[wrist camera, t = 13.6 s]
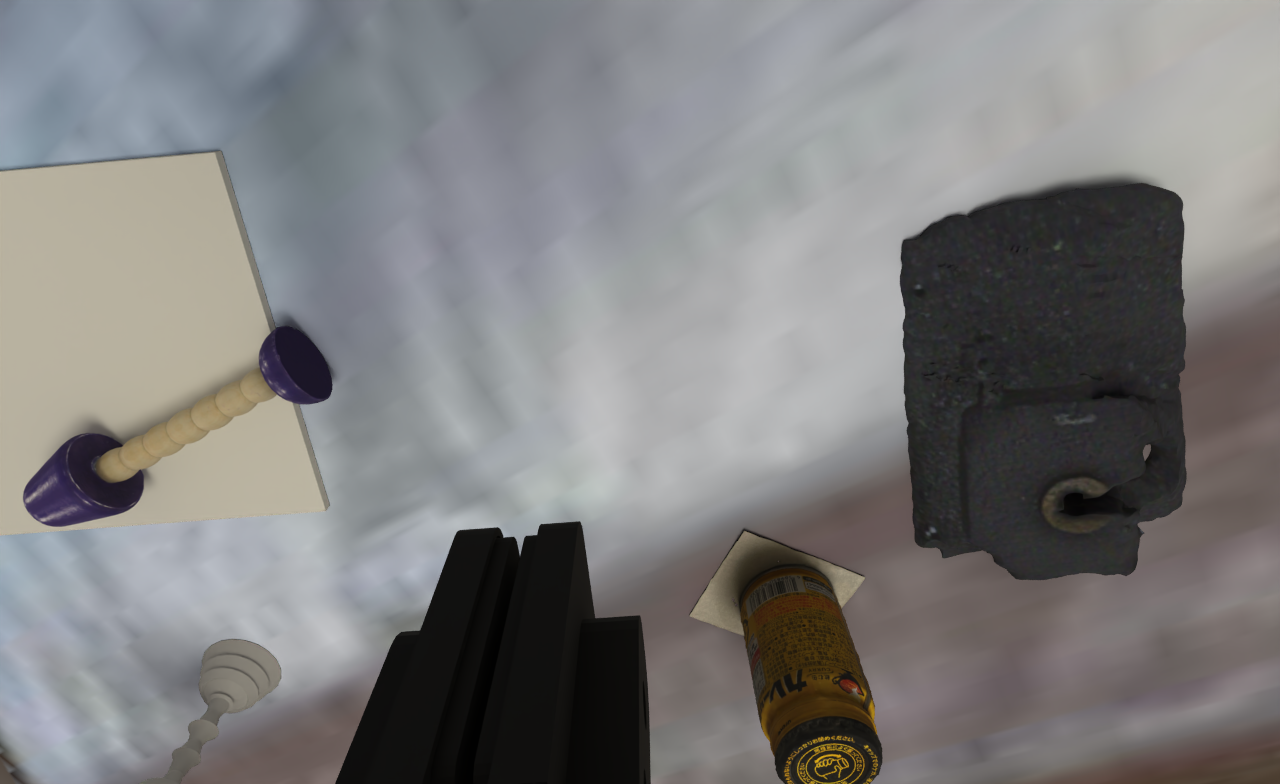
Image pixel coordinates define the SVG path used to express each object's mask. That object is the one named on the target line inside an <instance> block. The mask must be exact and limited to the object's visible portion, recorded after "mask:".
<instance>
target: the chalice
mask: <svg viewBox="0 0 1280 784" xmlns="http://www.w3.org/2000/svg"><path fill="white" fill-rule="evenodd" d="M200 676H201V678H200V681H199V691H200V694H201V696H202V698H203V700H204V702H205V703H206V704H208V709H207V712H206V713H205V714H204V715H203V716H202V717H201V718H200V719H199V720H195V721H192V722H191V723H190V724H189V726H188V731H189V733H190V736H189V739H188V741H187V742H186V743H185V744H184V745H183V746H182V747H180V748H178V749H176V750H174V751H173V753H172V759H173V761H172V764H171V766H170V769H169V771H168V773H167V774H166V775H165V776H164V777H163V778H151V779H147V780H145V781H142V782H141V783H139V784H180V783H181V781H182V778H183V777H184V776H185V775H186V773H187V772H188V771H189V770H190V769H191V768H192V767H194V766H196V765H198V764H199V763H200V761H201V756H200V752H201V749H202V746H203V745H204V744H205V743H206V742H207V741H210V740H213V739H215V738H216V737H217V736H218V734H219V730H218V728H217V724H218V721H219V718H220V717H221V716H222V714H223V713H236V712H240V711H243V710H245V709H248V708H250V707H252V706H253V705H254V704H255V703H256V702H257V701H259V700H261V699H262V698H263V697H264V696H265V695H266V694H268V693H270V692H271V691H273V690H274V689H275V688H276V687H277V686H278V684H279V681H280V679H281V668H280V666H279V664H278V662H277V660H276V659H275V658H274V657H273V656H272V655H271V654H270V652H269V651H267V650H265V649H264V648H262V647H261V646H259V645H257V644H254V643H251V642H248V641H244V640H235V639H231V640H224V641H220V642H218V643H215V644H213V645H211V646H210V647H209V648H208V649H207V650H206V651H205V653H204V656H203V659H202V669H201V672H200Z"/></svg>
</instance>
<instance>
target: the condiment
mask: <svg viewBox="0 0 1280 784" xmlns="http://www.w3.org/2000/svg"><path fill="white" fill-rule="evenodd" d="M778 561H779V562H778ZM864 579H865V577H862V576H860V575H857V574H855V573H853V572H850V571H848V570H846V569H843V568H841V567H838V566H834V565H833V564H831V563H828V562H826V561H823V560H821V559H817V558H815V557H813V556H810V555H807V554H804V553H802V552H797V551H794V550H792V549H790V548H788V547H786V546H783V545H780V544H778V543H776V542H774V541H771V540H768V539H764V538H761V537H758V536H756V535H754V534H751V533H748V532H746V531H744V532H743V534H742V535H741V537H740V538H739V540H738V541H737V542H736V543H735V545H734V547H733V548H732V549H731V551H730V552H729V554H728V556H727V558H726V559H725V560H724V561H723V563H722V565H721V566H720V568H719V569H718V571H717V573H716V574H715V576H714V577H713V578H712V580H711V581H710V583H709V585H708V587H707V589H706V590H705V592H704V594H703V595H702V596H701V598H700V599H699V601H698V603H697V605H696V606H695V608H694V610H693V611H692V613H691V614H690V616H691V617H693V618H696V619H698V620H701V621H703V622H707V623H710V624H713V625H714V626H717V627H720V628H724V629H726V630H729V631H731V632H733V633H738V634H740V635H743V636H744V639H745V642H746V649H747V655H748V658H749V664H750V669H751V675H752V680H753V688H754V693H755V697H756V703H757V708H758V715H759V719H760V723H761V727H762V730H763V732H764V734H765V736H766V737H767V739H768V740H769V741H770V746H771V750H772V752H773V755H774V756H775V765H776V771H777V774H778V777H779V778H780V779H781V780H782V781H783V782H784V783H785V784H870V783H871V782H872V781H873V780H874V778H875V777H876V776H877V775H879V772H880V767H881V765H882V747H881V743H880V741H879V739H878V736H877V730H876V726H875V724H874V716H875V705H874V702H873V698H872V695H871V690H870V687H869V684H868V681H867V679H866V677H865V675H864V673H863V669H862V666H861V664H860V659H859V655H858V654H857V652H856V650H855V647H854V643H853V640H852V638H851V636H850V632H849V629H848V627H847V624H846V620H845V618H844V616H843V613H842V607H843V606H844V605H845V603H846V602H847V601H848V600H849V599H850V597H851V596H852V595H853V594H854V592H855V591H856V590H857V589H858V587H859V586H860V585H861V583H862V582H863V580H864ZM732 598H734V600H735V602H733V601H732ZM735 603H737V604H738V606H737V607H736V606H735Z"/></svg>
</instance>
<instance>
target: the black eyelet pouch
mask: <svg viewBox="0 0 1280 784" xmlns="http://www.w3.org/2000/svg"><path fill="white" fill-rule="evenodd" d="M1182 210H1183V202H1182V199H1181V198H1180V197H1179V196H1178V195H1177V194H1176V193H1174V192H1172V191H1169V190H1166V189H1163V188H1160V187H1156V186H1151V185H1148V184H1144V183H1139V184H1130V185H1126V186H1123V187H1111V188H1104V189H1094V190H1086V189H1076V190H1075V191H1072V192H1063V193H1060V194H1058V195H1056V196H1052V197H1047V198H1046V199H1039V200H1025V201H1016V202H1007V203H1003V204H1000V205H998V206H994V207H991V208H989V209H987V210H986V209H983V210H980V211H978V212H975V213H973V214H971V215H970V216H968V217H967V216H964V215H960V216H954V217H949V218H947V219H946V220H944V221H943V222H941V223H938V224H934V225H932V226H931V227H929V228H928V229H927V230H926V231H925V232H924V233H923V234H922V235H921V236H920V237H919V238H918V239H916V240H904V242H903V245H902V252H901V260H902V264H903V265H902V269H901V274H900V287H901V293H902V296H903V303H904V306H905V319H904V322H903V331H904V338H903V349H904V352H905V361H904V394H905V410H906V416H907V420H908V422H909V424H908V427H907V435H908V453H909V459H910V466H911V470H910V475H911V483H912V500H913V524H914V528H915V542H916V543H917V545H918V546H920V547H923V548H935V547H936V548H938V549H940V551H941V553H942V557H943V558H948V557H952V556H956V555H959V554H963V553H969V552H976V551H981V550H983V551H986V552H987V553H990V554H991V555H992V556H993V558H994V562H995V563H996V564H998V565H999V566H1001V567H1003V568H1005V569H1007V571H1008V572H1009V573H1010V574H1011V575H1012V576H1013V577H1014V578H1015V579H1019V580H1047V579H1051V578H1058V577H1062V576H1066V575H1074V574H1079V573H1096V574H1102V575H1115V574H1122V575H1125V576H1127V575H1129V574H1131V573H1132V572H1133V571H1134V570H1135V568H1136V565H1137V560H1138V548H1139V542H1140V537H1141V535H1142V534H1144V532H1143V531H1141V529H1140V528H1139V527H1138V525H1137V524H1138V523H1139V522H1143V521H1152V520H1154V519H1156V518H1158V517H1160V518H1161V517H1165V516H1167V515H1169V514H1170V513H1171V512H1173V511H1174V510H1176V509H1178V508H1179V507H1180V506H1181V505H1182V493H1183V490H1184V488H1185V484H1186V468H1185V436H1184V432H1183V419H1182V404H1181V393H1180V391H1179V389H1178V387H1179V382H1180V376H1179V373H1180V372H1181V371H1183V370H1184V368H1185V360H1184V358H1183V357H1184V351H1185V347H1186V326H1185V323H1184V320H1183V306H1184V302H1185V300H1184V296H1183V290H1182V289H1181V288H1182V263H1181V260H1182V253H1183V241H1184V221H1183V218H1182ZM1148 444H1150V445H1151V452H1150V454H1149V457H1148V458H1147V459H1146V461H1144V457H1143V449H1144V447H1145V445H1148Z"/></svg>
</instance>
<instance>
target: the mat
mask: <svg viewBox="0 0 1280 784" xmlns="http://www.w3.org/2000/svg"><path fill="white" fill-rule="evenodd" d="M275 329H276V328H275V325H274V321H273V318H272V315H271V312H270V308H269V305H268V302H267V299H266V295H265V292H264V289H263V286H262V282H261V279H260V276H259V272H258V269H257V266H256V263H255V259H254V256H253V253H252V250H251V246H250V243H249V240H248V236H247V233H246V230H245V227H244V223H243V220H242V217H241V214H240V210H239V207H238V204H237V200H236V197H235V194H234V191H233V187H232V184H231V181H230V178H229V174H228V171H227V168H226V164H225V161H224V158H223V155H222V151H214V152H203V153H192V154H181V155H170V156H159V157H147V158H136V159H125V160H114V161H103V162H92V163H81V164H70V165H58V166H47V167H36V168H25V169H14V170H3V171H0V535H12V534H25V533H39V532H52V531H66V530H79V529H93V528H106V527H120V526H133V525H146V524H160V523H173V522H187V521H200V520H214V519H227V518H241V517H254V516H268V515H281V514H294V513H308V512H321V511H326V510H327V509H328V507H329V506H330V505H329V501H328V498H327V495H326V492H325V488H324V485H323V482H322V479H321V475H320V472H319V469H318V465H317V462H316V459H315V456H314V452H313V449H312V446H311V443H310V439H309V436H308V433H307V429H306V426H305V423H304V420H303V416H302V413H301V410H300V407H299V404H296V403H292V402H289V401H287V400H285V399H283V398H281V397H280V396H278V395H276V396H275V397H274V398H272V399H270V400H268V401H265V402H260V403H258V404H257V405H256V406H255V407H254V408H253V409H252V410H251V411H249V412H248V413H246V414H243V415H240V416H236V417H233V419H232V420H231V421H230V422H229V423H228V424H227V425H225V426H223V427H221V428H219V429H216V430H210V432H209V433H208V434H207V435H206V436H205V437H203V438H202V439H200V440H199V441H196V442H194V443H190V444H186V445H185V446H184V447H183V448H182V449H181V450H179V451H178V452H176V453H174V454H172V455H170V456H166V457H162V458H161V460H159V461H158V462H157V463H156V464H154V465H153V466H151V467H149V468H145V469H141V471H142V473H143V475H144V490H143V493H142V496H141V498H140V500H139V501H138V503H137V504H136V505H135V506H134V507H133V508H131V509H130V510H128V511H126V512H124V513H121V514H118V515H114V516H110V517H105V518H101V519H97V520H92V521H88V522H83V523H79V524H75V525H70V526H64V527H52V526H47V525H45V524H42V523H40V522H39V521H37V520H36V519H34V518H33V517H32V516H31V515H30V514H29V513H28V511H27V509H26V508H25V505H24V502H23V492H24V489H25V486H26V485H27V483H28V482H29V480H30V479H31V478H32V477H33V476H34V475H35V474H36V473H37V471H38V470H39V469H40V468H41V467H42V466H43V465H44V464H45V462H46V461H47V460H48V459H49V458H50V457H51V456H52V455H53V454H54V453H55V452H56V451H57V450H58V449H59V448H60V447H61V446H62V445H63V444H64V443H65V442H66V441H68V440H69V439H71V438H72V437H74V436H77V435H79V434H85V433H96V434H102V435H105V436H108V437H111V438H113V439H114V440H116V441H118V442H119V443H121V444H122V445H124V444H125V443H126V442H127V441H129V440H130V439H132V438H134V437H136V436H140V435H145V434H146V433H147V432H148V431H149V430H150V429H151V428H152V427H154V426H156V425H158V424H160V423H163V422H169V420H170V419H171V418H172V417H173V416H174V415H175V414H177V413H178V412H180V411H182V410H184V409H188V408H193V407H194V405H195V404H196V403H197V402H198V401H199V400H201V399H202V398H204V397H206V396H209V395H212V394H218V392H219V391H220V390H221V389H222V388H223V387H224V386H226V385H227V384H229V383H231V382H234V381H238V380H242V379H243V378H244V376H245V375H246V374H248V373H249V372H250V371H252V370H254V369H256V368H259V367H260V366H259V351H260V348H261V346H262V344H263V342H264V340H265V338H266V337H267V336H268V335H269V334H270V333H271V332H272V331H273V330H275Z"/></svg>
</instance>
